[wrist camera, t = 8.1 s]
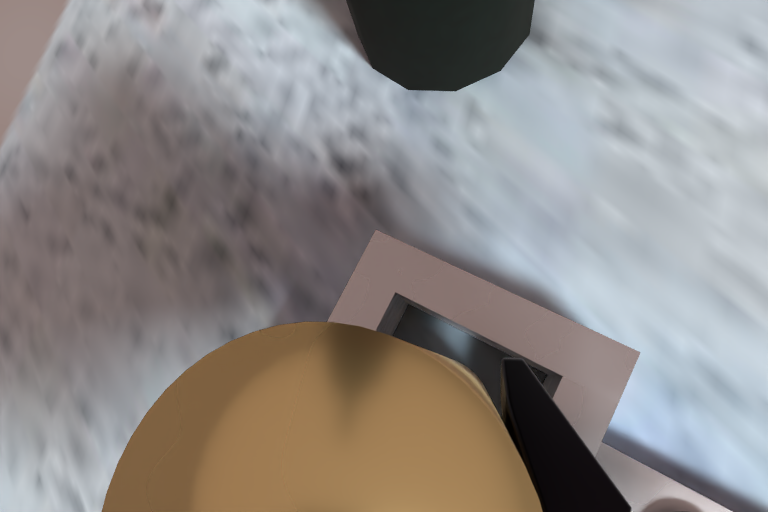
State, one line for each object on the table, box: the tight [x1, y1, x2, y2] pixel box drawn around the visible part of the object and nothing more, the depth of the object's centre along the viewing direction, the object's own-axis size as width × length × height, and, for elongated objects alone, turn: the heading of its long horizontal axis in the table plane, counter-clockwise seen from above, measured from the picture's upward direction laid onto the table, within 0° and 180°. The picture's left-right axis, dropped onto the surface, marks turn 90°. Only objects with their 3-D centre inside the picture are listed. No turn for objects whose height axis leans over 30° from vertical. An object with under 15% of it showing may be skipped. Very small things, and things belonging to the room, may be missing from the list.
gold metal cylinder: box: [102, 322, 543, 512], centre depth 9 cm, size 4×4×12 cm
